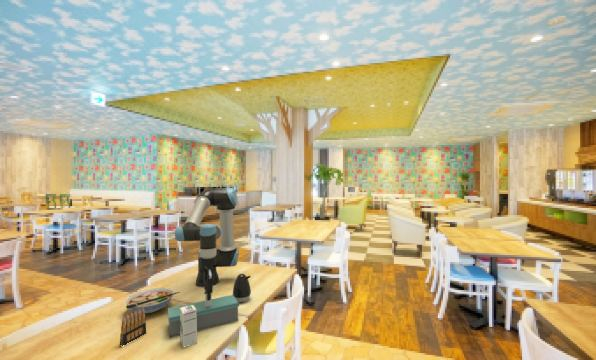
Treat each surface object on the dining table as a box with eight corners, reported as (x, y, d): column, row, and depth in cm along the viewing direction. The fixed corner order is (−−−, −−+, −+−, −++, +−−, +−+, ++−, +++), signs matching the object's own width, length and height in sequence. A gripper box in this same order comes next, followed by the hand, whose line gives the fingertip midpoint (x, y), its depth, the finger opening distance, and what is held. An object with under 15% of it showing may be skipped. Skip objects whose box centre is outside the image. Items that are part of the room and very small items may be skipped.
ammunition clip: (143, 332, 121) (143, 306, 121) (146, 333, 120) (146, 306, 120) (119, 346, 111) (119, 317, 111) (122, 347, 110) (122, 318, 110)
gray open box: (169, 324, 127) (168, 310, 127) (231, 310, 141) (231, 297, 141) (170, 337, 117) (169, 321, 117) (237, 320, 131) (237, 306, 131)
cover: (167, 310, 127) (167, 306, 127) (232, 296, 142) (232, 293, 142) (168, 322, 116) (168, 318, 116) (239, 306, 130) (239, 302, 130)
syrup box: (197, 343, 113) (197, 308, 113) (182, 348, 109) (182, 312, 109) (193, 336, 117) (193, 303, 117) (179, 341, 114) (179, 307, 114)
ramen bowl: (168, 296, 159) (168, 282, 159) (183, 309, 143) (183, 294, 143) (118, 311, 142) (118, 295, 142) (129, 327, 125) (129, 310, 125)
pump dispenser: (247, 305, 147) (246, 277, 147) (229, 303, 149) (229, 276, 149) (253, 297, 157) (253, 271, 157) (237, 296, 159) (237, 270, 159)
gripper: (198, 254, 133) (198, 302, 132) (202, 260, 122) (202, 313, 121) (213, 252, 137) (214, 299, 136) (218, 258, 125) (219, 309, 124)
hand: (208, 306), depth 128 cm, fingers closed
